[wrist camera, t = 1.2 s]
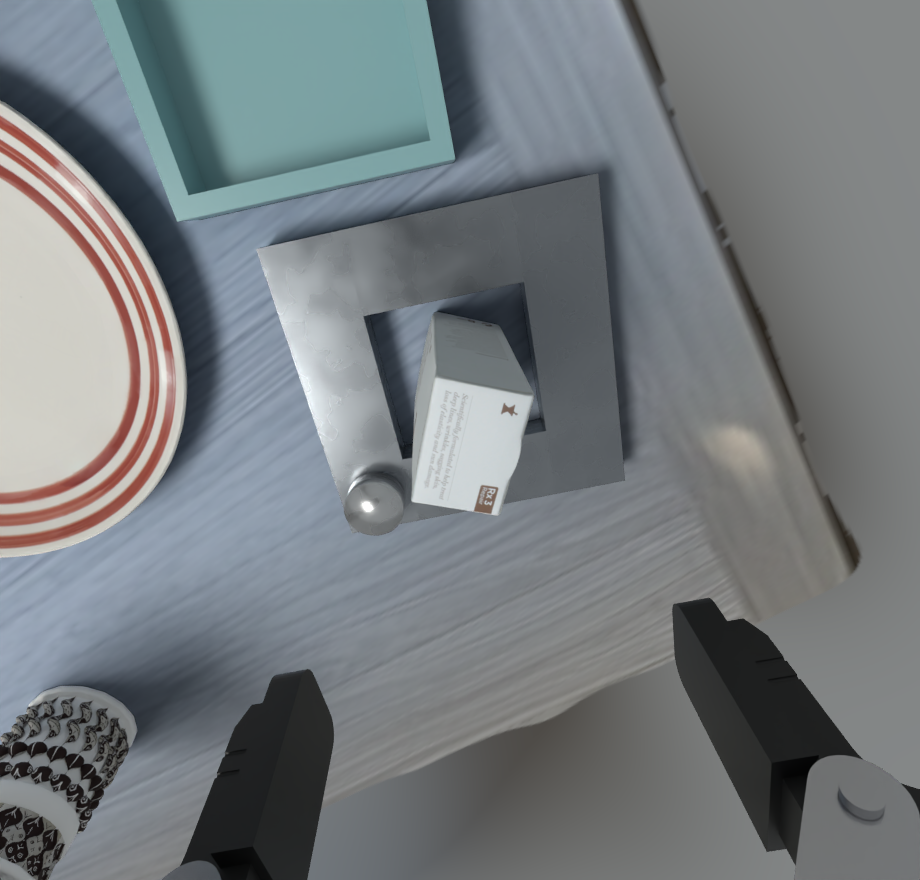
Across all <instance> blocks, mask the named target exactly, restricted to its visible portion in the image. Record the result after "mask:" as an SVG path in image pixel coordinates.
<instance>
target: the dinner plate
mask: <svg viewBox="0 0 920 880" xmlns="http://www.w3.org/2000/svg"><path fill="white" fill-rule="evenodd" d="M186 400H187V372H186V362H185V353H184V348H183V342H182V337H181V333H180V329H179V325H178V322H177V319H176V315H175V312H174V309H173V306H172V303H171V301H170V298H169V295H168V293H167V290H166V288H165V285H164V283H163V281H162V279H161V277H160V274H159V272H158V270H157V268H156V266H155V264H154V262H153V260H152V258H151V257H150V255H149V253H148V251H147V249H146V248H145V246H144V244H143V242H142V241H141V239H140V238H139V236H138V235H137V233H136V231H135V230H134V228H133V227H132V225H131V224H130V222H129V221H128V219H127V218H126V217H125V215H124V214H123V213H122V211H121V210H120V209H119V207H118V206H117V205H116V203H115V202H114V201H113V200H112V199H111V197H110V196H109V195H108V194H107V193H106V192H105V190H104V189H103V188H102V187H101V186H100V184H99V183H98V182H97V181H96V180H95V179H94V178H93V177H92V175H91V174H90V173H89V172H88V171H87V170H86V169H85V168H84V167H83V166H82V165H81V164H80V163H79V162H78V161H77V160H76V159H75V158H74V157H73V156H72V155H71V154H70V153H69V152H68V151H66V150H65V149H64V148H63V147H62V146H61V145H60V144H59V143H57V142H56V141H55V140H54V139H53V138H52V137H51V136H49V135H48V134H47V133H46V132H44V131H43V130H42V129H41V128H39V127H38V126H37V125H35V124H34V123H33V122H32V121H30V120H29V119H28V118H26V117H25V116H24V115H22V114H21V113H19V112H18V111H16V110H15V109H14V108H12V107H11V106H9V105H8V104H6V103H5V102H2V101H1V100H0V557H17V556H27V555H34V554H41V553H46V552H50V551H54V550H58V549H62V548H65V547H69V546H72V545H75V544H77V543H80V542H82V541H85V540H87V539H89V538H91V537H93V536H95V535H97V534H100V533H101V532H103V531H105V530H107V529H108V528H110V527H112V526H114V525H115V524H117V523H118V522H120V521H121V520H123V519H124V518H125V517H127V516H128V515H129V514H130V513H131V512H133V511H134V510H135V509H136V508H137V507H138V506H139V505H140V504H141V503H142V502H143V501H144V500H145V499H146V498H147V497H148V496H149V495H150V493H151V492H152V491H153V490H154V489H155V487H156V486H157V484H158V483H159V482H160V480H161V478H162V477H163V475H164V474H165V472H166V470H167V468H168V466H169V465H170V463H171V461H172V459H173V456H174V454H175V451H176V448H177V445H178V442H179V439H180V435H181V432H182V428H183V424H184V417H185V411H186Z"/></svg>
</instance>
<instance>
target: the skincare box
mask: <svg viewBox="0 0 920 880" xmlns="http://www.w3.org/2000/svg"><path fill="white" fill-rule="evenodd" d="M534 397H535V396H534V392H533V390H532V389H531V387H530V385H529V383H528V381H527V379H526V377H525V375H524V373H523V371H522V369H521V367H520V365H519V363H518V361H517V359H516V357H515V355H514V353H513V351H512V349H511V347H510V345H509V343H508V341H507V339H506V337H505V335H504V333H503V331H502V329H501V327H500V326H499V325H497V324H492V323H488V322H483V321H479V320H474V319H469V318H465V317H460V316H455V315H451V314H446V313H441V312H435V313H434V314H433V316H432V319H431V323H430V326H429V330H428V334H427V338H426V342H425V347H424V351H423V356H422V361H421V366H420V372H419V378H418V384H417V390H416V397H415V410H414V432H413V454H412V496H411V501H412V502H415V503H422V504H429V505H435V506H441V507H447V508H454V509H460V510H466V511H473V512H479V513H485V514H491V515H496V516H497V515H499V514H500V513H501V510H502V507H503V503H504V500H505V496H506V493H507V490H508V486H509V483H510V479H511V476H512V474H513V472H514V470H515V468H516V466H517V463H518V460H519V457H520V453H521V445H522V439H523V436H524V432H525V429H526V425H527V422H528V418H529V415H530V411H531V407H532V404H533V401H534Z"/></svg>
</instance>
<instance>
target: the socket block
mask: <svg viewBox="0 0 920 880" xmlns="http://www.w3.org/2000/svg"><path fill="white" fill-rule="evenodd" d="M256 250H257V253H258V256H259V259H260V262H261V265H262V268H263V271H264V274H265V277H266V280H267V283H268V286H269V288H270V291H271V294H272V297H273V300H274V303H275V306H276V309H277V312H278V315H279V318H280V321H281V324H282V327H283V330H284V333H285V336H286V339H287V342H288V345H289V348H290V351H291V354H292V357H293V359H294V362H295V365H296V368H297V371H298V374H299V377H300V380H301V383H302V386H303V389H304V392H305V395H306V398H307V401H308V404H309V407H310V410H311V413H312V416H313V419H314V422H315V425H316V428H317V430H318V433H319V436H320V439H321V442H322V445H323V448H324V451H325V454H326V457H327V460H328V463H329V466H330V469H331V472H332V475H333V478H334V481H335V484H336V487H337V490H338V493H339V496H340V498H341V501H342V504H343V507H344V513H345V517H346V519H347V521H348V522H349V525H350V528H351V531H352V533H356V532H361V533H363V534H367V535H383V534H386V533H389V532H391V531H392V530H394V529H395V528H396V527H397V526H398V525H399V524H402V523H408V522H413V521H418V520H423V519H428V518H433V517H439V516H444V515H449V514H454V513H459V512H464V511H466V510H460V509H454V508H447V507H441V506H435V505H429V504H422V503H415V502H412V501H411V496H412V454H413V445H408V446H404V443H403V439H402V435H401V432H400V428H399V424H398V421H397V417H396V413H395V409H394V406H393V402H392V398H391V395H390V391H389V387H388V384H387V380H386V376H385V372H384V369H383V365H382V361H381V358H380V354H379V350H378V346H377V343H376V339H375V335H374V332H373V328H372V324H371V320H370V317H369V315H371V314H376V313H381V312H385V311H390V310H395V309H399V308H404V307H409V306H414V305H418V304H423V303H428V302H432V301H437V300H442V299H446V298H451V297H456V296H460V295H465V294H470V293H475V292H479V291H484V290H489V289H493V288H498V287H503V286H507V285H512V284H517V283H520V287H521V294H522V300H523V307H524V314H525V320H526V327H527V333H528V340H529V346H530V353H531V360H532V366H533V373H534V379H535V386H536V392H537V399H538V406H539V412H540V419H538V420H533V421H528V422H527V425H526V429H525V432H524V436H523V439H522V445H521V453H520V457H519V460H518V463H517V466H516V468H515V470H514V472H513V474H512V476H511V479H510V483H509V486H508V490H507V493H506V496H505V500H504V503H503V504H506V503H511V502H516V501H521V500H526V499H532V498H537V497H542V496H547V495H552V494H557V493H563V492H568V491H573V490H578V489H583V488H588V487H594V486H599V485H604V484H609V483H614V482H619V481H625V475H624V464H623V452H622V441H621V429H620V418H619V406H618V395H617V383H616V372H615V360H614V349H613V338H612V326H611V315H610V303H609V292H608V280H607V269H606V257H605V246H604V234H603V223H602V211H601V200H600V189H599V177H598V174H592V175H586V176H582V177H577V178H573V179H568V180H564V181H559V182H555V183H550V184H546V185H541V186H537V187H532V188H528V189H523V190H519V191H514V192H510V193H505V194H501V195H496V196H491V197H487V198H482V199H478V200H473V201H469V202H464V203H460V204H455V205H451V206H446V207H442V208H437V209H433V210H428V211H424V212H419V213H415V214H410V215H406V216H401V217H397V218H392V219H388V220H383V221H378V222H374V223H369V224H365V225H360V226H356V227H351V228H347V229H342V230H338V231H333V232H329V233H324V234H320V235H315V236H311V237H306V238H302V239H297V240H293V241H288V242H284V243H279V244H274V245H270V246H266V247H262V248H258V249H256Z"/></svg>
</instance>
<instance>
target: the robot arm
mask: <svg viewBox="0 0 920 880" xmlns="http://www.w3.org/2000/svg"><path fill="white" fill-rule="evenodd" d="M672 613H673V632H674V651H675V660H676V665H677V669H678V672H679V676H680V678H681V681H682V684H683V686H684V688H685V690H686V692H687V694H688V696H689V698H690V700H691V702H692V704H693V706H694V708H695V710H696V712H697V713H698V716H699V717H700V720H701V722H702V724H703V726H704V728H705V729H706V731H707V734H708V735H709V738H710V740H711V742H712V743H713V746H714V748H715V750H716V751H717V754H718V755H719V757H720V759H721V761H722V763H723V765H724V767H725V769H726V771H727V773H728V775H729V777H730V779H731V781H732V783H733V785H734V787H735V789H736V791H737V793H738V795H739V797H740V799H741V801H742V803H743V805H744V807H745V809H746V811H747V813H748V815H749V817H750V819H751V821H752V823H753V825H754V827H755V829H756V831H757V833H758V835H759V837H760V839H761V841H762V843H763V845H764V847H765V849H766V851H767V852H769V851H775V850H781V849H787V851H788V852H789V854H790V856H791V858H792V860H793V862H794V863H795V866H796V867H795V875H794V880H920V789H916V788H913V787H910V786H907V785H904V784H902V783H900V782H899V781H898V780H896V779H895V778H894V777H893V776H892V775H891V774H889V773H888V772H886V771H885V770H883V769H882V768H880V767H878V766H876V765H874V764H873V763H870V762H868V761H865V760H863V759H862V758H861V757H860V756H859V755H858V754H857V753H856V752H855V750H854V749H853V748H852V747H851V746H850V744H849V743H848V741H847V740H846V739H845V738H844V736H843V735H842V733H841V732H840V731H839V730H838V728H837V727H836V726H835V724H834V723H833V722H832V720H831V719H830V718H829V716H828V715H827V714H826V712H825V711H824V710H823V708H822V707H821V706H820V704H819V703H818V702H817V700H816V699H815V698H814V697H813V695H812V694H811V692H810V691H809V690H808V689H807V687H806V686H805V685H804V683H803V682H802V681H801V679H798V677H797V674H796V673H795V671H794V670H793V669H792V667H791V666H790V665H789V664H788V662H787V661H785V660H784V658H783V656H782V654H781V653H780V651H779V650H778V649H777V647H776V646H775V645H774V643H773V642H772V641H771V640H770V638H769V637H768V636H767V635H766V634H765V633H763V632H762V631H760V630H759V629H758V628H756V627H755V626H753V625H752V624H750V623H749V622H747V621H746V620H745V619H738V620H732V621H727V620H726V619H725V617H724V616H723V614H722V613H721V611H720V610H719V608H718V607H717V606H716V604H715V603H714V602H713V600H712V599H710V598H705V599H699V600H694V601H688V602H683V603H677V604H674V605H673V609H672ZM333 742H334V729H333V722H332V717H331V714H330V712H329V710H328V707H327V705H326V703H325V700H324V698H323V696H322V693H321V691H320V689H319V686H318V684H317V682H316V679H315V677H314V675H313V673H312V671H311V670H309V669H307V670H301V671H296V672H290V673H285V674H279V675H275V676H274V677H273V678H272V680H271V682H270V684H269V687H268V690H267V693H266V696H265V699H264V701H263V703H261V704H255V705H252V706H251V707H250V708H249V710H248V711H247V712H246V714H245V715H244V716H243V718H242V719H241V720H240V721H239V723H238V724H237V725H236V727H235V728H234V731H233V733H232V736H231V738H230V741H229V744H228V746H227V749H226V751H225V757H223V759H222V762H221V764H220V767H219V769H218V772H217V778H215V780H214V782H213V785H212V787H211V790H210V793H209V795H208V798H207V800H206V803H205V805H204V808H203V811H202V813H201V816H200V818H199V821H198V823H197V826H196V829H195V831H194V834H193V836H192V839H191V842H190V844H189V847H188V849H187V852H186V854H185V857H184V859H183V861H182V863H181V865H180V867H178V868H176V869H174V870H173V871H172V872H170V873H169V874H168V875H166V876H165V877H164V878H163V879H162V880H307V878H308V873H309V867H310V862H311V857H312V852H313V847H314V842H315V836H316V832H317V826H318V821H319V816H320V811H321V806H322V801H323V795H324V790H325V785H326V780H327V775H328V770H329V765H330V759H331V754H332V749H333Z"/></svg>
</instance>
